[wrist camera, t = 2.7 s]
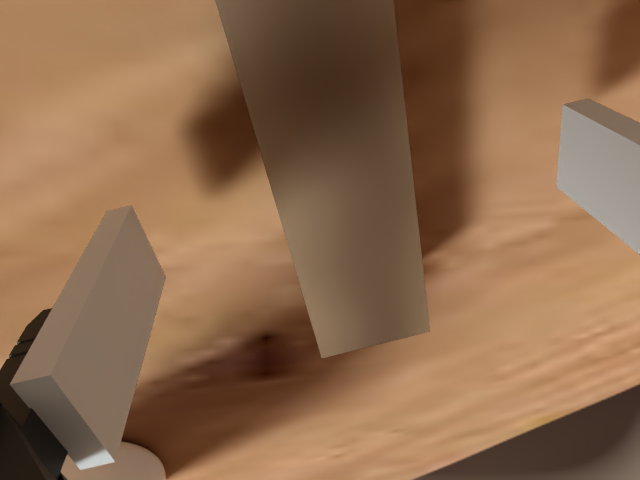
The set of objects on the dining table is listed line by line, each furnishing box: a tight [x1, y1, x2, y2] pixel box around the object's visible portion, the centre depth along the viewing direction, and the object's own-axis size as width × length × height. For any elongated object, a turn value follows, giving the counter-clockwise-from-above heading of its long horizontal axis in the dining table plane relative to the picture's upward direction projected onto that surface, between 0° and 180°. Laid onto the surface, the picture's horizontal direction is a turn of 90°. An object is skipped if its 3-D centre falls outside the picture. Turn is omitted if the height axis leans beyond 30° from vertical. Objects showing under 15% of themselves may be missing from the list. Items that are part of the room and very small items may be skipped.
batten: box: [216, 0, 430, 358], centre depth 13 cm, size 4×22×4 cm, turn 12°
